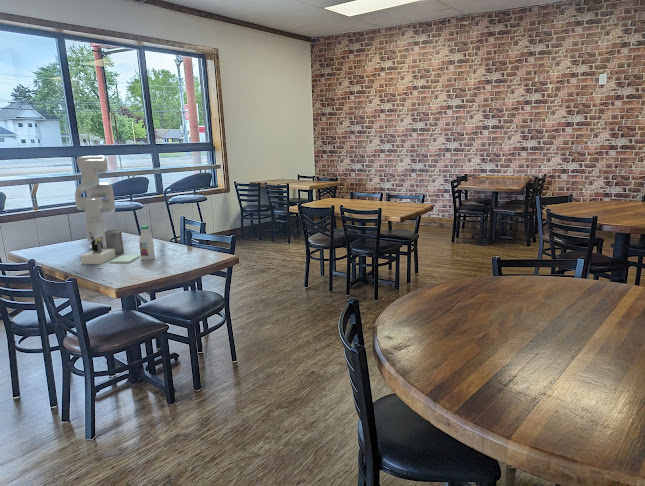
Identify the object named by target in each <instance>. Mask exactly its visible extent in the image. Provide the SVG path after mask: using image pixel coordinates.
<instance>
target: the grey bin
mask: <svg viewBox="0 0 645 486" xmlns="http://www.w3.org/2000/svg"><path fill="white" fill-rule="evenodd" d="M105 239H106V247H107V248H106V249H115V255H119V254H123V253H124V251H125V247H124V242H123V235H122V230H121V229H116V230H115V229H111V230H106V232H105Z"/></svg>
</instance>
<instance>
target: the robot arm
mask: <svg viewBox="0 0 645 486" xmlns="http://www.w3.org/2000/svg"><path fill="white" fill-rule="evenodd" d="M76 164H77V167H78V169H79V171H80V172H81V183H80V184H79V185H78V186H77V187H76V190H75V192H74V198H75V199H74V200H75V201H74V202H75V208H76V209H77V210H79V211H84V212H85V219H86V225H85V226H86V228H85V229H86V230H85V231H86V238H87V240H88V242H89V243H90V246H89V249H90V250H91V251H98V246H97V241H96V239H98V238H101V239H102V240H101V247H102V249H107V247H106V239H105V232H106V231H107V226H106V220H105V218H103V217H102V216H101V215H106V214H107V215H111V214H113V213H115V212H116V204H115V196H114V188H113V185H112V184H111V183H110V182H100V179H99V174H106V173H107V172H108V167H109V166H108V159H107V157H106V156H105V155H86V156H85V155H84V156H78V157H77V158H76ZM83 193H86V196H81V195H82V194H83ZM102 198H105V199H102ZM93 238H94V239H93ZM93 240H95V242H94V241H93Z"/></svg>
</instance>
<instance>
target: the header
mask: <svg viewBox="0 0 645 486" xmlns="http://www.w3.org/2000/svg"><path fill="white" fill-rule="evenodd" d="M115 258H117V257H116V254H115V249H107V248H104V249H102V252H101V253H94V251H92V250H90V251H87V252H85V253H82V254H80V262H81V265H82V264H83V265H91V264H92V265H93V264H94V265H96V264H97V265H99V264H100V265H102V264H104V263H105V262H109V261H111V260H113V259H115Z"/></svg>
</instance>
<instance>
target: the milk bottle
mask: <svg viewBox="0 0 645 486" xmlns="http://www.w3.org/2000/svg"><path fill="white" fill-rule="evenodd" d="M138 239H139V242H138V243H139V252H140V259H141V260H142V261H150V260H151V261H152V260H154V259H155V257H156V255H155V244H154V239H153V236H152V234H151V233H150V226H149V225H147V224H145V225H140V236H139V238H138Z"/></svg>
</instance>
